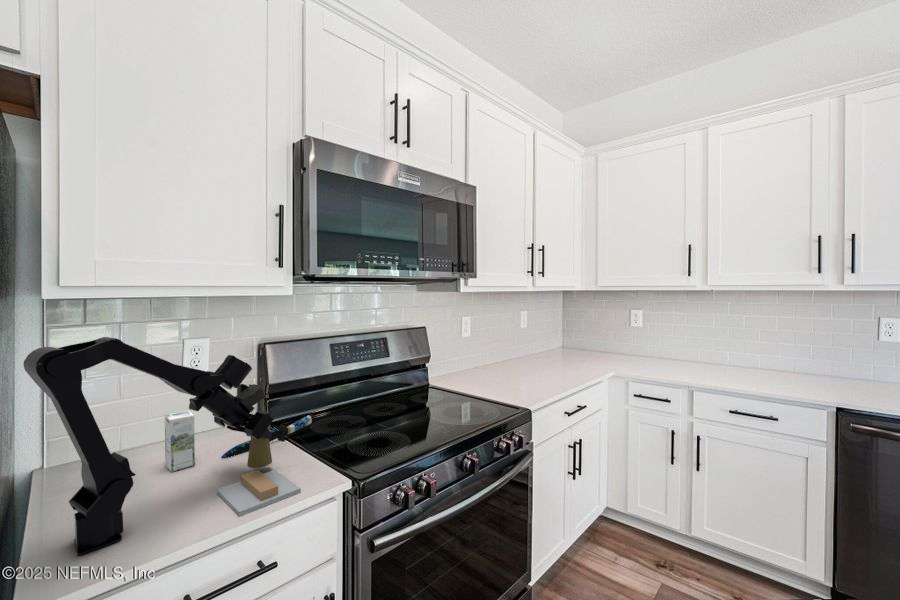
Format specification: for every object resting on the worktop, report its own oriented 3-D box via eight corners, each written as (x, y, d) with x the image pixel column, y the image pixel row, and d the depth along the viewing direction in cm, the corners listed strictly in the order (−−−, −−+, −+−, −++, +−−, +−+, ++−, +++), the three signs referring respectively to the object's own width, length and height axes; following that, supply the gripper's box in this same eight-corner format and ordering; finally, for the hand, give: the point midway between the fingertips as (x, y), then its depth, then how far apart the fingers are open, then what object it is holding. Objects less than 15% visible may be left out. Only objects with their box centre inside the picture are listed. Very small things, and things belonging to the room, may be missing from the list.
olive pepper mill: (262, 469, 105) (262, 426, 105) (242, 467, 106) (241, 425, 106) (276, 459, 111) (276, 419, 111) (256, 457, 112) (256, 417, 112)
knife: (313, 424, 141) (311, 412, 140) (318, 426, 139) (316, 414, 138) (218, 464, 118) (216, 449, 117) (222, 467, 116) (220, 452, 115)
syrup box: (189, 459, 116) (188, 409, 115) (195, 466, 112) (194, 414, 111) (165, 466, 112) (163, 414, 111) (171, 473, 108) (169, 419, 107)
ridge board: (239, 516, 88) (238, 503, 88) (217, 493, 98) (216, 481, 97) (300, 492, 98) (300, 480, 98) (275, 473, 108) (275, 462, 108)
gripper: (266, 381, 99) (304, 414, 109) (225, 372, 110) (263, 403, 119) (234, 422, 93) (278, 453, 103) (194, 408, 103) (237, 438, 113)
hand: (264, 435), depth 110 cm, fingers closed on olive pepper mill, 5 cm apart
